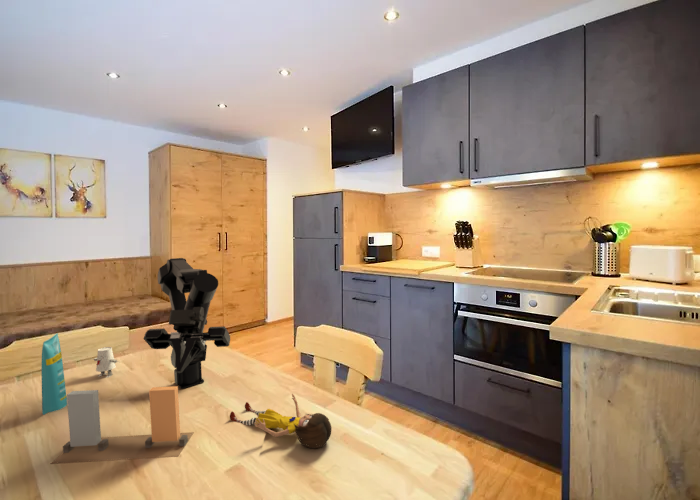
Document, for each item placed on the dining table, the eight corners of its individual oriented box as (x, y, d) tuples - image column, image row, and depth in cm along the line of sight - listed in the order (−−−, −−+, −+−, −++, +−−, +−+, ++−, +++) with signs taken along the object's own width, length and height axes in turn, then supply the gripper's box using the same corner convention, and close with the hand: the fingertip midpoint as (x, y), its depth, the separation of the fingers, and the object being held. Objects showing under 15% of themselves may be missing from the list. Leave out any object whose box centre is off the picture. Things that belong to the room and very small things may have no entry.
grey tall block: (75, 442, 71) (72, 391, 70) (101, 440, 71) (97, 390, 70) (70, 446, 69) (66, 394, 69) (96, 445, 70) (92, 393, 69)
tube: (62, 415, 85) (57, 339, 84) (37, 420, 83) (31, 342, 82) (71, 402, 92) (66, 331, 91) (48, 406, 90) (43, 334, 89)
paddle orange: (155, 437, 72) (152, 387, 71) (180, 436, 72) (177, 386, 71) (152, 441, 70) (149, 390, 70) (177, 440, 71) (174, 389, 70)
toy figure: (82, 377, 108) (80, 350, 107) (99, 370, 113) (97, 344, 113) (112, 381, 105) (110, 353, 104) (128, 373, 110) (127, 347, 110)
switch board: (80, 442, 74) (79, 432, 74) (194, 436, 76) (193, 426, 75) (50, 468, 66) (49, 456, 66) (178, 461, 68) (177, 449, 67)
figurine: (257, 388, 88) (340, 397, 77) (260, 417, 88) (345, 430, 77) (215, 413, 77) (307, 428, 65) (220, 446, 77) (312, 467, 65)
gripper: (145, 296, 82) (120, 358, 72) (225, 293, 83) (211, 355, 73) (162, 319, 90) (142, 379, 80) (235, 317, 91) (224, 375, 81)
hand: (179, 372), depth 78 cm, fingers closed
